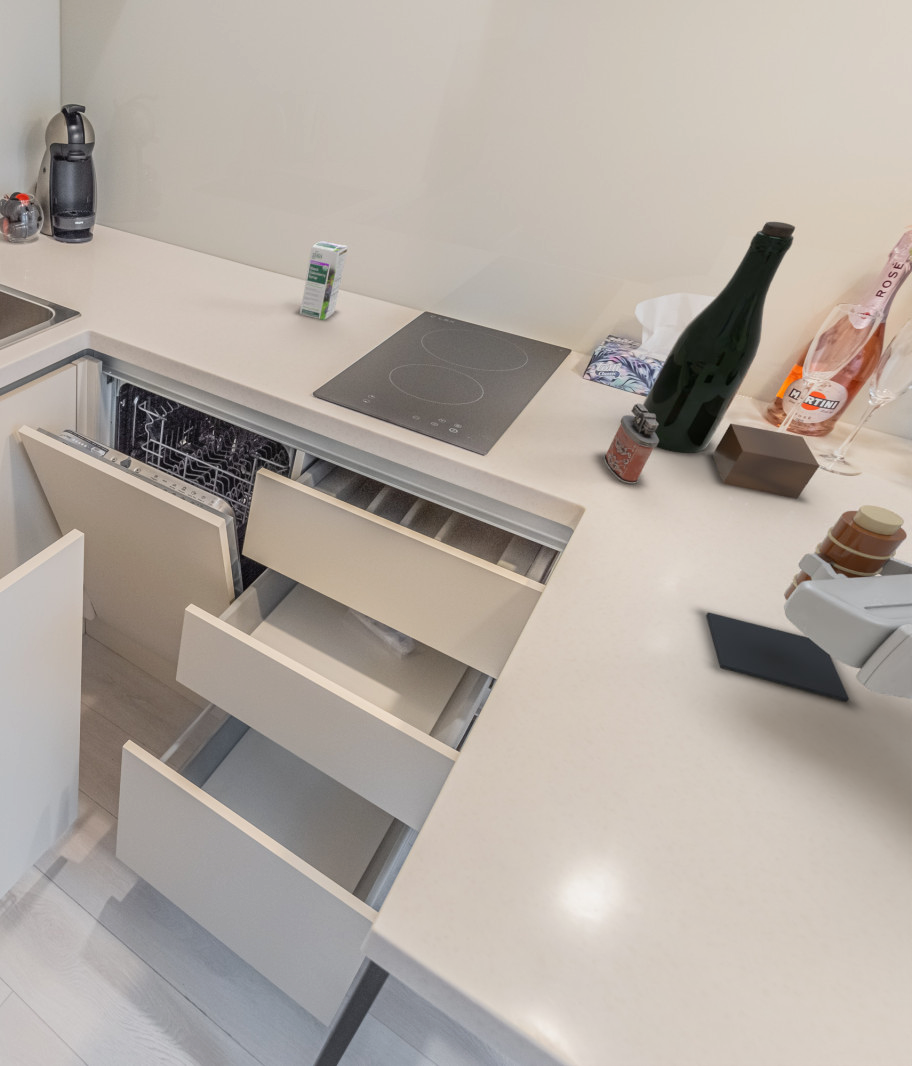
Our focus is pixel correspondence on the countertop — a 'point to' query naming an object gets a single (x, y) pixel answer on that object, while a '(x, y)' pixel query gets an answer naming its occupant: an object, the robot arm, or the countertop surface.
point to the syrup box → (323, 279)
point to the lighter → (632, 445)
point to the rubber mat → (774, 656)
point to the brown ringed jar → (859, 543)
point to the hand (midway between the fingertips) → (836, 556)
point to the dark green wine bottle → (716, 349)
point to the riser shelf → (764, 460)
